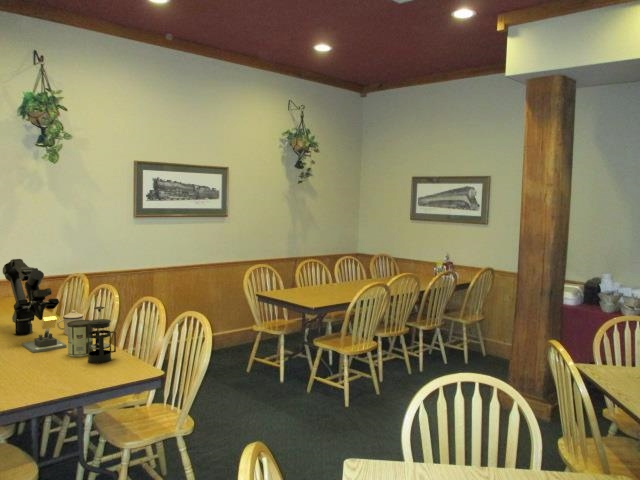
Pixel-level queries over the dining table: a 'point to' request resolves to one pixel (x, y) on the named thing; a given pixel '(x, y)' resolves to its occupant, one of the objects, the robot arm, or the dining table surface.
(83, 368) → the dining table surface
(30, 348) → the switch board
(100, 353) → the french press
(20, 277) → the robot arm
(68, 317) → the teacup with lid
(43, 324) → the lever
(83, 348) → the coffee can
